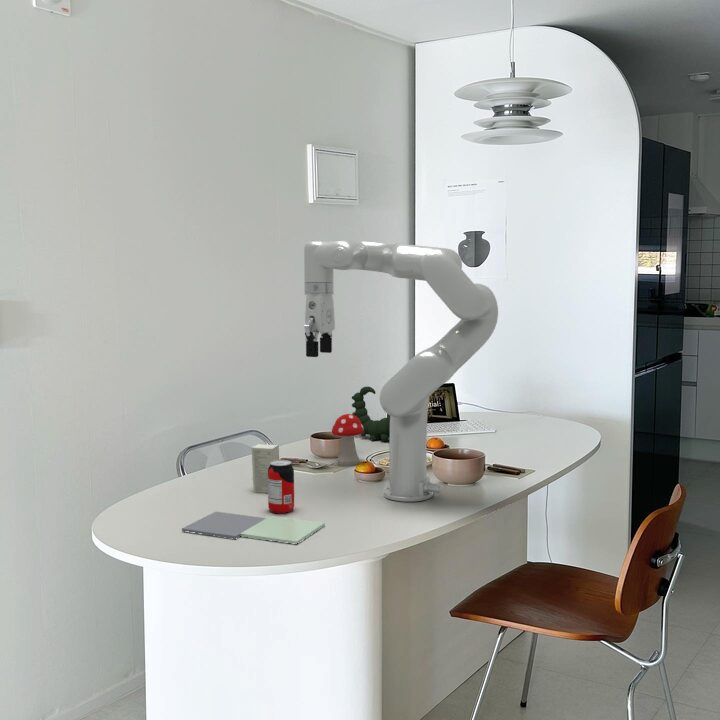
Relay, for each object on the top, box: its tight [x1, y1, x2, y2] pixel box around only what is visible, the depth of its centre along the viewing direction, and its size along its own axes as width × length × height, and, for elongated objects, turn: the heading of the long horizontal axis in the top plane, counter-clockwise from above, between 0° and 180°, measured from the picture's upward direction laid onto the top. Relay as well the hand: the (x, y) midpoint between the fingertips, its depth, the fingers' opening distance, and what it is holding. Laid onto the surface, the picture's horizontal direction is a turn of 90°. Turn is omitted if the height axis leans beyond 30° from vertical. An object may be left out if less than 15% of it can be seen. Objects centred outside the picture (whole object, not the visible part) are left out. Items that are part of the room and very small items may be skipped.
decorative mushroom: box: [331, 413, 364, 467], centre depth 258 cm, size 10×9×15 cm
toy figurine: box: [351, 386, 390, 442], centre depth 289 cm, size 9×19×25 cm
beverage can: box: [267, 459, 295, 514], centre depth 212 cm, size 6×6×12 cm
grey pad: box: [181, 511, 267, 540], centre depth 201 cm, size 14×14×1 cm
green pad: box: [240, 515, 326, 544], centre depth 197 cm, size 14×14×1 cm
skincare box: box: [251, 443, 280, 494], centre depth 230 cm, size 6×4×12 cm
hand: (319, 354), depth 229 cm, fingers open, 9 cm apart
